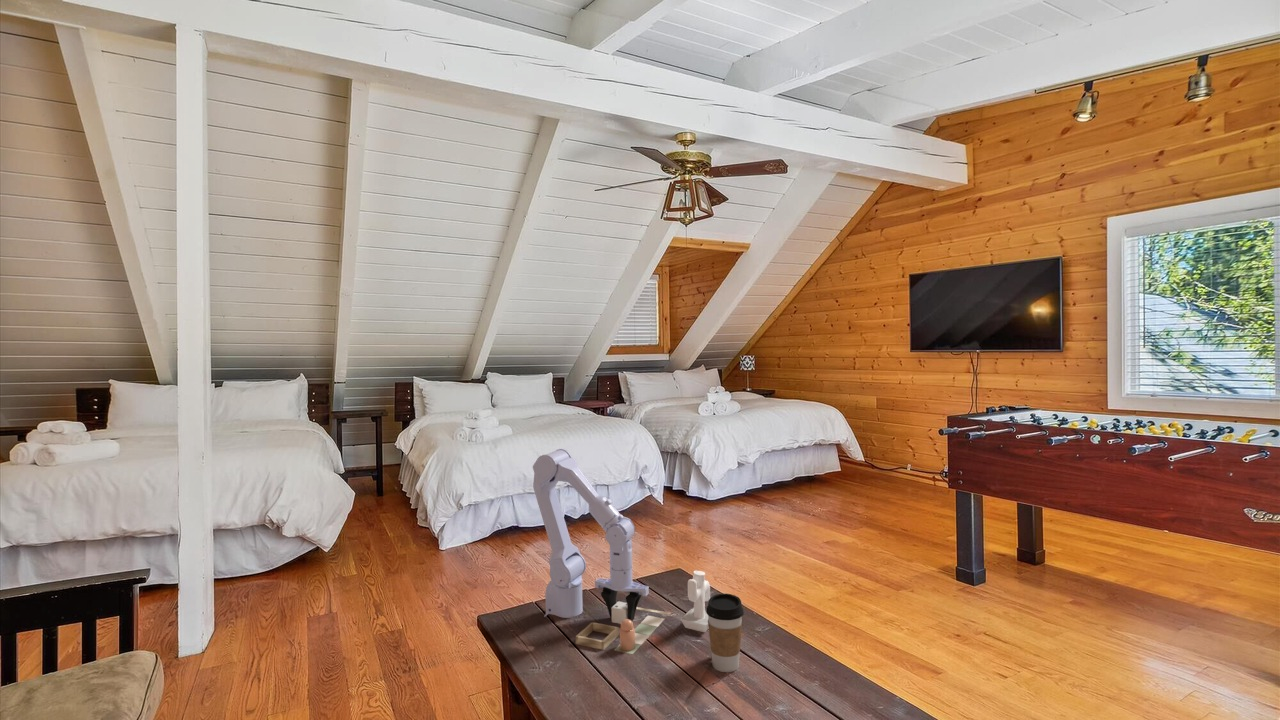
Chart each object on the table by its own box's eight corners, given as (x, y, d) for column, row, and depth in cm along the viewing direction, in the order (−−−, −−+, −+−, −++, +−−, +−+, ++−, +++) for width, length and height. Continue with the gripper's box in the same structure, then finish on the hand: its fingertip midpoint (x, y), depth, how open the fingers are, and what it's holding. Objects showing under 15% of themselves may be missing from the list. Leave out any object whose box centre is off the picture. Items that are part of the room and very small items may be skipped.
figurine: (720, 625, 167) (719, 568, 167) (704, 641, 159) (704, 581, 159) (694, 619, 171) (693, 563, 170) (678, 634, 163) (677, 575, 162)
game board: (572, 651, 156) (571, 638, 156) (620, 607, 179) (619, 596, 179) (629, 663, 150) (628, 650, 149) (671, 616, 173) (670, 605, 173)
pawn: (617, 649, 154) (616, 621, 153) (624, 642, 157) (623, 615, 157) (631, 652, 152) (630, 624, 152) (637, 645, 155) (637, 617, 155)
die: (611, 622, 168) (611, 607, 168) (618, 616, 172) (618, 601, 171) (625, 625, 166) (625, 609, 166) (632, 618, 170) (632, 603, 170)
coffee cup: (747, 659, 151) (746, 595, 150) (740, 678, 143) (739, 610, 142) (711, 653, 153) (710, 591, 152) (702, 672, 145) (702, 605, 145)
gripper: (653, 565, 169) (654, 616, 170) (603, 558, 175) (604, 607, 176) (642, 574, 163) (643, 628, 163) (590, 567, 169) (591, 618, 169)
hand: (622, 618), depth 169 cm, fingers open, 5 cm apart
